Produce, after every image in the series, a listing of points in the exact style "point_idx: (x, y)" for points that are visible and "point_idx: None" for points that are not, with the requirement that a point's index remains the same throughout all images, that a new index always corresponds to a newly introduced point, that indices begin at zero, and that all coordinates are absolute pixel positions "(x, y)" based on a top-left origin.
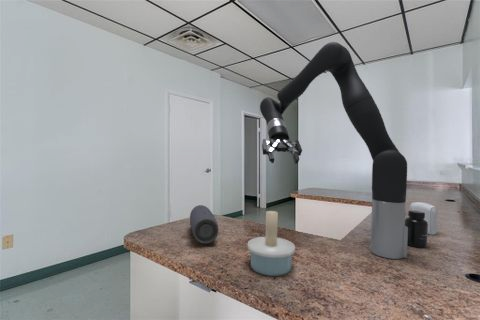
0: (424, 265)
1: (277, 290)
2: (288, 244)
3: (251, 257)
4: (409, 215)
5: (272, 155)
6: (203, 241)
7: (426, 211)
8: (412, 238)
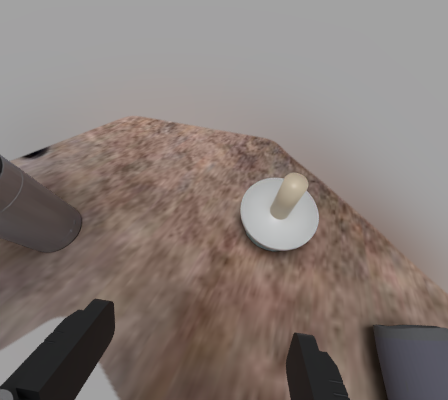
0: (52, 184)
1: (280, 171)
2: (250, 205)
3: None
4: None
5: (320, 374)
6: (396, 328)
7: None
8: None
